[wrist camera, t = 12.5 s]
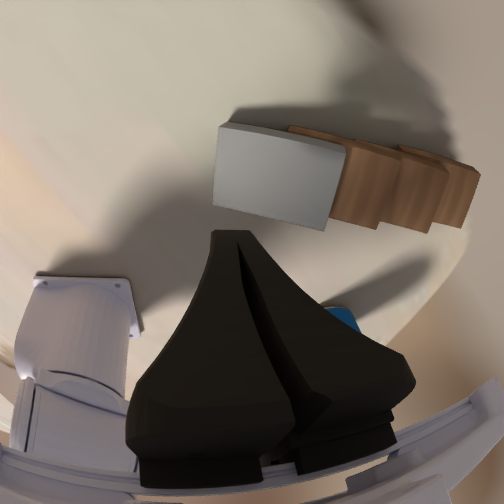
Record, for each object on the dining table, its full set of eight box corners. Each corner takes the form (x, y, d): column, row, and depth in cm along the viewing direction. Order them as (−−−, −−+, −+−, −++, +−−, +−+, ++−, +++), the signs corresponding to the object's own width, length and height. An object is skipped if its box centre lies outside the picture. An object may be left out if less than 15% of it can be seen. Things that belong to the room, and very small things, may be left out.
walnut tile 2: (273, 204, 19) (375, 229, 18) (287, 130, 16) (401, 161, 15) (277, 194, 20) (372, 218, 20) (290, 125, 17) (395, 153, 16)
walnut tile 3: (340, 211, 20) (427, 233, 19) (356, 145, 17) (450, 173, 16) (340, 201, 21) (422, 222, 20) (354, 138, 18) (443, 165, 17)
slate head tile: (212, 204, 18) (323, 231, 17) (218, 126, 15) (346, 153, 14) (220, 194, 19) (324, 218, 19) (227, 121, 16) (344, 146, 16)
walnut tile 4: (387, 211, 21) (460, 228, 19) (403, 150, 18) (480, 174, 16) (384, 202, 22) (454, 218, 21) (398, 144, 19) (472, 166, 18)
